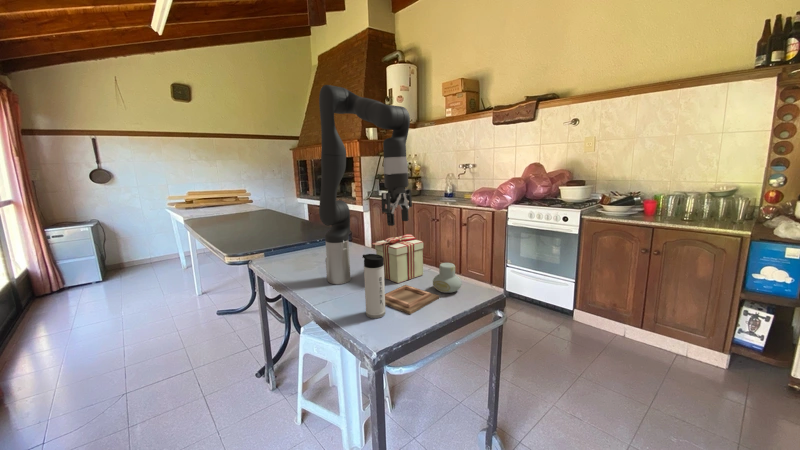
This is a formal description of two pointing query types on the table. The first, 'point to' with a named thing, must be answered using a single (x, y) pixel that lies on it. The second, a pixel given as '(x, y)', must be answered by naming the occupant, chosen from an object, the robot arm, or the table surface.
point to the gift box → (401, 257)
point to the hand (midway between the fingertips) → (398, 223)
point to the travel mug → (374, 285)
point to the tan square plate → (409, 299)
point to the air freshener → (447, 279)
